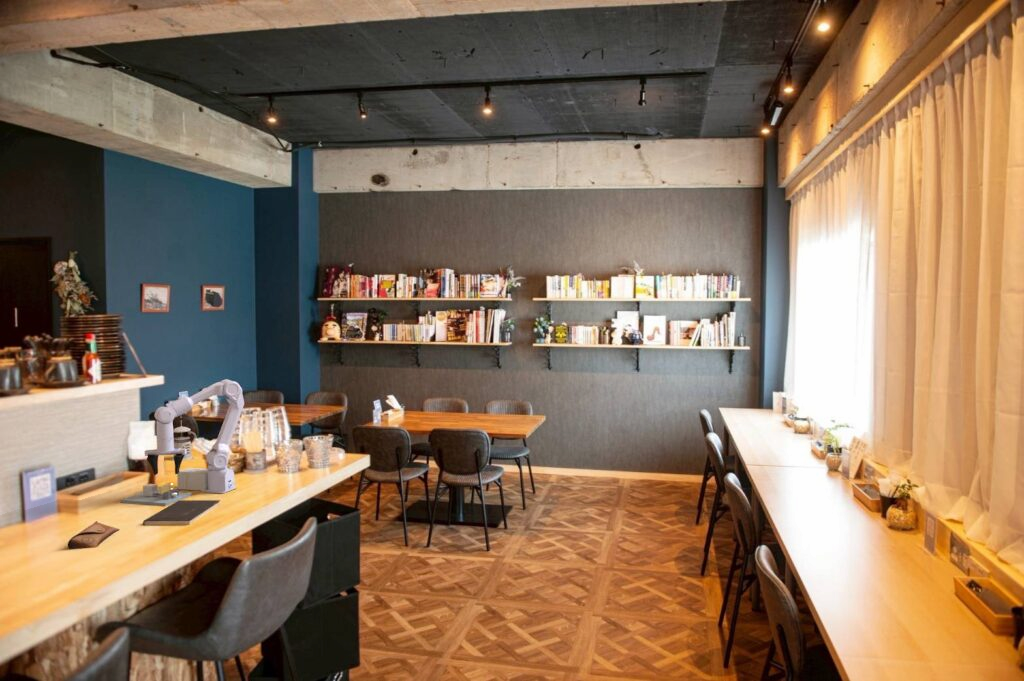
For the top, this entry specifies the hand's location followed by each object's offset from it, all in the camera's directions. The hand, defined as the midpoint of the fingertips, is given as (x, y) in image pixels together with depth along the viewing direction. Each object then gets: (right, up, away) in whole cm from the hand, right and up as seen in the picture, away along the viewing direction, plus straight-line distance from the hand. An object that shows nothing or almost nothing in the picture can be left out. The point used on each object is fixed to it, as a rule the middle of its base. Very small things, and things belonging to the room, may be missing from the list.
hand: (166, 473), depth 265 cm
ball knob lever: (+2, -6, -4) cm, 7 cm away
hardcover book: (+16, -11, -19) cm, 27 cm away
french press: (-26, -6, +70) cm, 75 cm away
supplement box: (-2, -5, +16) cm, 17 cm away
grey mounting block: (+2, -10, -1) cm, 10 cm away
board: (-4, -10, 0) cm, 10 cm away
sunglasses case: (-1, -13, -44) cm, 46 cm away
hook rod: (-2, -8, 0) cm, 9 cm away
